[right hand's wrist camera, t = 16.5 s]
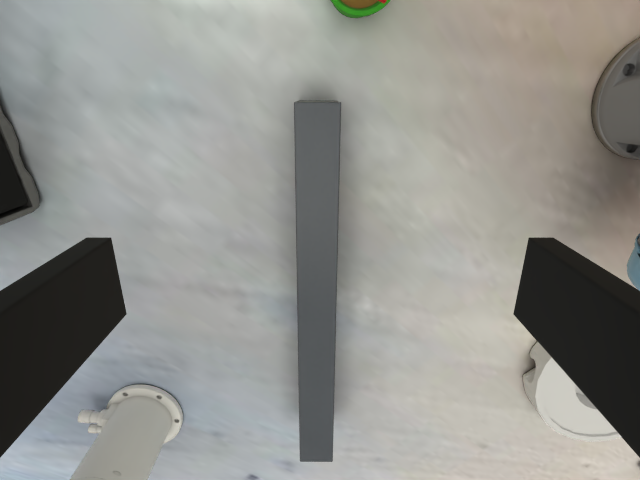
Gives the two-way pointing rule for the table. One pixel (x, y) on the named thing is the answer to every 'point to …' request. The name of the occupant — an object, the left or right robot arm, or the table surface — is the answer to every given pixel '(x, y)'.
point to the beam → (316, 270)
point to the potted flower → (359, 7)
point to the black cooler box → (14, 177)
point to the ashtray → (563, 401)
